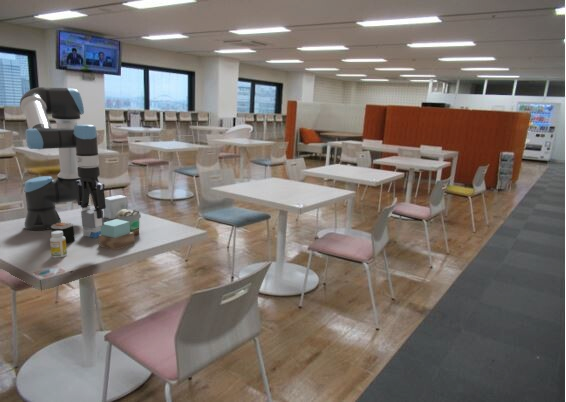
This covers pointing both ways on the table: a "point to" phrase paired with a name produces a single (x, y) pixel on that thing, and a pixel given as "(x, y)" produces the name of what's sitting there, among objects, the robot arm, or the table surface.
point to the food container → (132, 221)
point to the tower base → (116, 241)
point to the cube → (89, 218)
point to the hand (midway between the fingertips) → (93, 224)
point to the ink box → (92, 231)
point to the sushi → (65, 231)
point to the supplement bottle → (58, 244)
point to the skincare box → (114, 205)
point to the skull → (122, 213)
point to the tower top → (115, 228)
